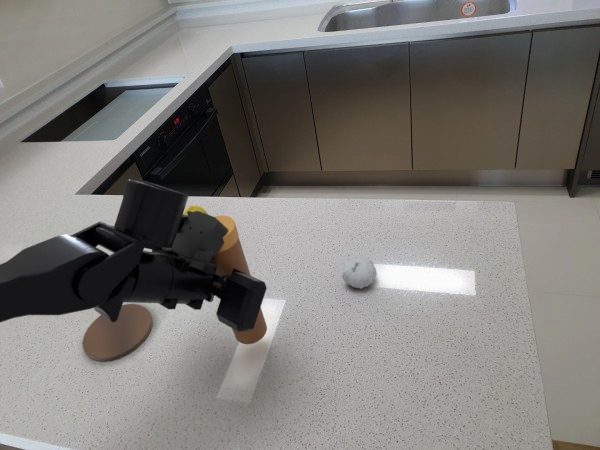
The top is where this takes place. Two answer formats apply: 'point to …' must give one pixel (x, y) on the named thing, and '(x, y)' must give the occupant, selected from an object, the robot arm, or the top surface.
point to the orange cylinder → (235, 258)
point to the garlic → (359, 273)
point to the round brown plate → (118, 333)
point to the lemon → (194, 209)
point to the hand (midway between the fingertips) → (243, 285)
